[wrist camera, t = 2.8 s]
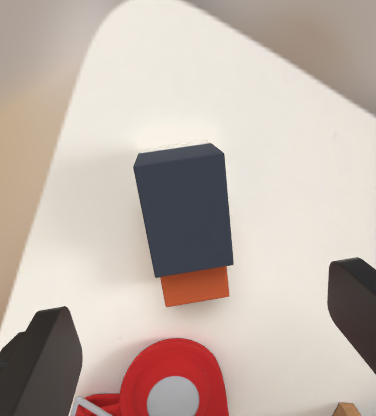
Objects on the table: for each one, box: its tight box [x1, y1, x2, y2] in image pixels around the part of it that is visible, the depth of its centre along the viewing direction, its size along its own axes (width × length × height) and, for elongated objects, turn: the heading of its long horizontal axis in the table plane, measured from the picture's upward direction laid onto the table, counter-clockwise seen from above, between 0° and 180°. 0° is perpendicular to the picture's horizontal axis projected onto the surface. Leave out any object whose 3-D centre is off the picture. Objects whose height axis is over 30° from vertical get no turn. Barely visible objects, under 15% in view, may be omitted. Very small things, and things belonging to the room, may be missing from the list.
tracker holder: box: [70, 338, 229, 416], centre depth 23 cm, size 12×4×10 cm
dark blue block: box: [133, 140, 234, 307], centre depth 17 cm, size 10×4×5 cm, turn 7°
